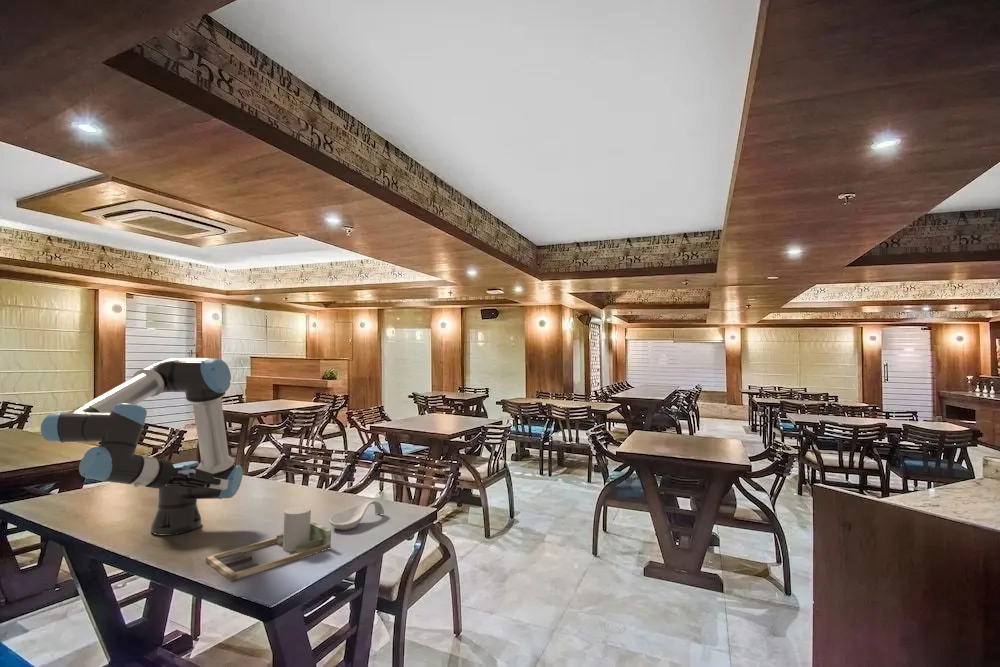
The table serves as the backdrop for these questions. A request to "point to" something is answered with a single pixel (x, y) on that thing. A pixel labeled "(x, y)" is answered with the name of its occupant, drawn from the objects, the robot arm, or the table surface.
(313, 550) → the wooden tray frame
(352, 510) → the spoon rest
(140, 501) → the table surface
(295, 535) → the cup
